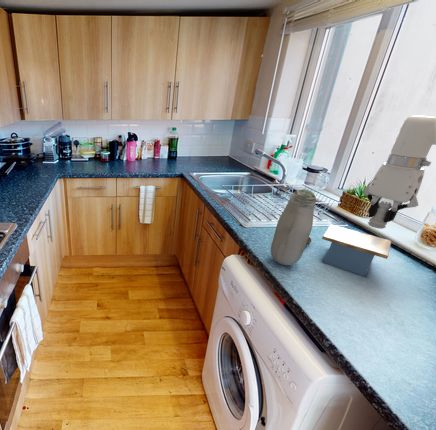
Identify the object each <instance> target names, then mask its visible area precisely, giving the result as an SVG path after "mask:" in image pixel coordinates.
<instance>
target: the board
mask: <svg viewBox="0 0 436 430" xmlns="http://www.w3.org/2000/svg"><path fill="white" fill-rule="evenodd" d="M321 240H323V241H327V242H330V243H332V242H333V243H337V244H340V245H343V246H346V247H350V248H353V249H356V250H359V251H363V252H366V253H369V254H372V255H375V257H379V258H382V259H384V260H385V259H386V260H388V258H389V256H390V249H391V245H392V240H390V239H386V238H382V237H380V236H375V235H372V234H368V233H364V232H360V231H358V230H354V229H350V228H346V227H342V226H339V225H336V224H332V223H331V224H330V225H329V226H328V228H327V229H326V231H325V232H324V234H323V236H322V237H321Z"/></svg>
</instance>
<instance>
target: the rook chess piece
mask: <svg viewBox="0 0 436 430" xmlns="http://www.w3.org/2000/svg"><path fill="white" fill-rule="evenodd" d="M378 205H379V208H378V211H377V213H376V214H375V215H374V216H373V217H370V218H369V219H368V221H367V225H368V226H370V227H371V228H374V229H379V230H380V229H381V230H383V229H385V228H386V227H387V226H386V225H387V224H388V222H387V223H386V222H384V219H385V217H386V215H387V213H388V211H389V210H391V208H392V205H393V203H392V202H389V201H384V200H382V201H381V200H380V202H379V204H378Z"/></svg>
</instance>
